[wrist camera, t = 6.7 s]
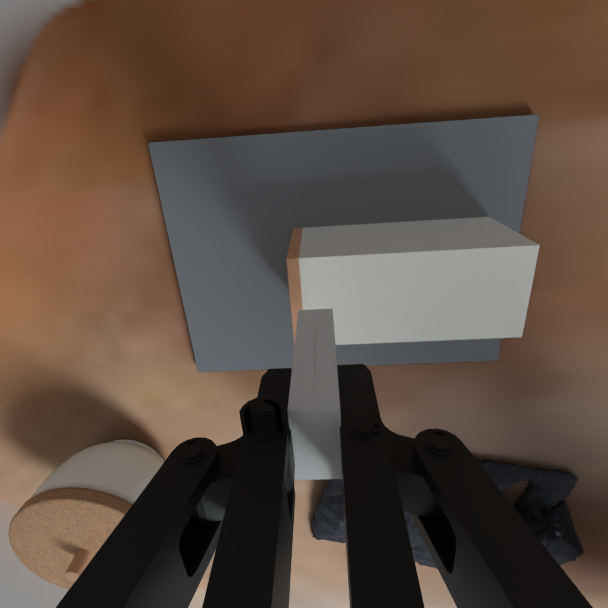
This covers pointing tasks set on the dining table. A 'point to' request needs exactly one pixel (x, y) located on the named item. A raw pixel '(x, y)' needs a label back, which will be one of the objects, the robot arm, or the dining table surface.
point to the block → (414, 279)
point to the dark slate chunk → (530, 505)
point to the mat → (322, 220)
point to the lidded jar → (80, 508)
